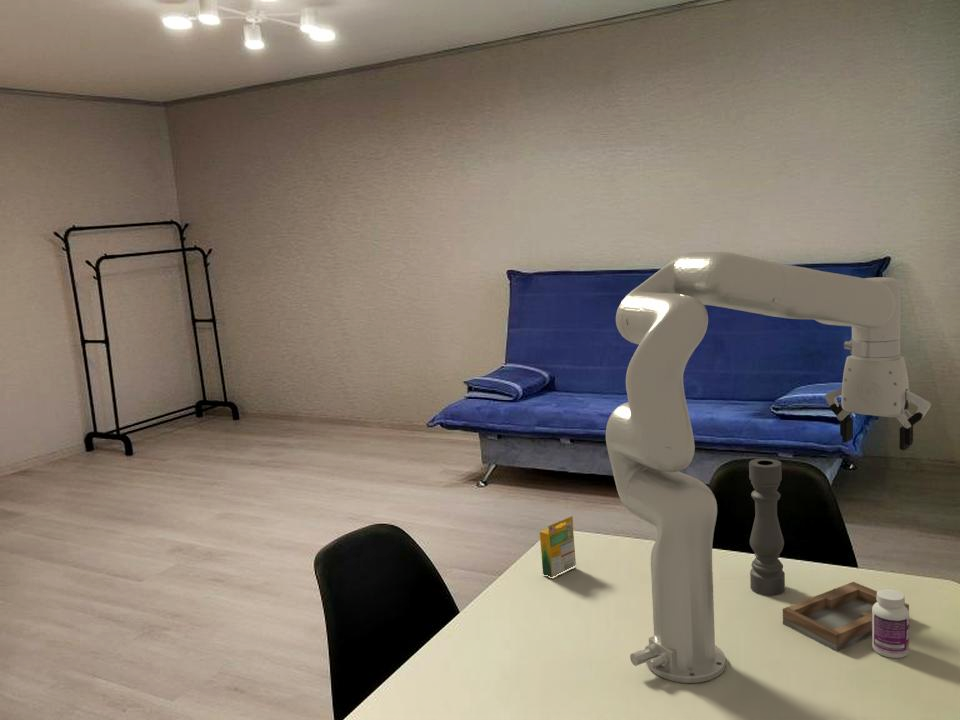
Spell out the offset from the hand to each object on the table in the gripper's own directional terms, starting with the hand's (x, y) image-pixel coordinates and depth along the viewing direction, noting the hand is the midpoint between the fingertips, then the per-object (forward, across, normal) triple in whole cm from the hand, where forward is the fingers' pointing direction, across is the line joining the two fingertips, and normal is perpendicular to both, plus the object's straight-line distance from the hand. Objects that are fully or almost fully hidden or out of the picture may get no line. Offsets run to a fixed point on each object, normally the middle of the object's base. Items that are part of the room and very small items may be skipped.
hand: (875, 444), depth 140 cm
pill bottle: (+29, +8, -17) cm, 35 cm away
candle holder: (+29, -17, -8) cm, 35 cm away
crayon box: (+29, -53, -26) cm, 66 cm away
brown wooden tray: (+29, -1, -12) cm, 31 cm away
